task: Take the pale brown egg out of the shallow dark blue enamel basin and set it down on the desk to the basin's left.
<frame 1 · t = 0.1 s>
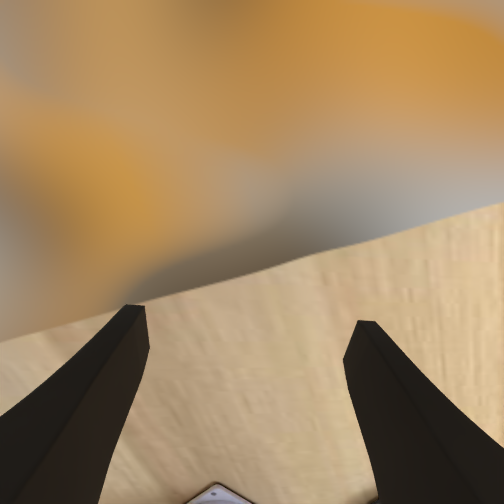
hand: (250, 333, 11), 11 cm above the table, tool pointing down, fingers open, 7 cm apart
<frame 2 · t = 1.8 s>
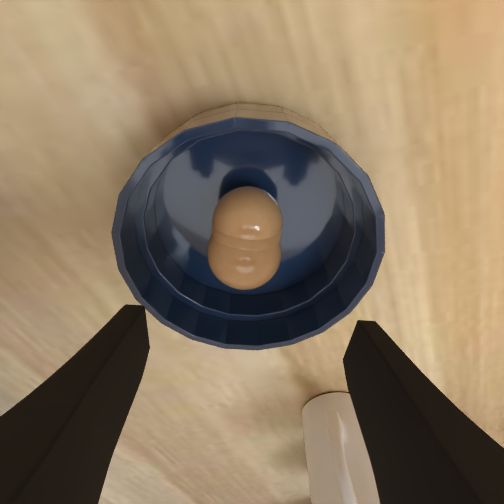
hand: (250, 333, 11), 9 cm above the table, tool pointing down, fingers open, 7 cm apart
egg: (249, 222, 18), point 1 cm above the table, tilted 6°, touching basin
mug: (330, 399, 29), on the table
basin: (249, 219, 19), on the table
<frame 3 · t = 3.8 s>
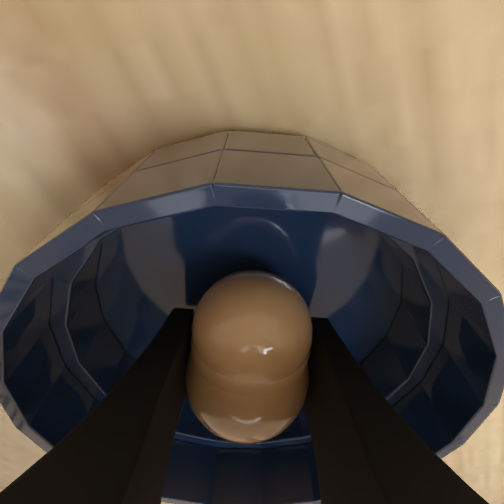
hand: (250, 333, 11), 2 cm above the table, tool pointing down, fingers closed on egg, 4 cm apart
egg: (248, 311, 12), point 1 cm above the table, touching basin, gripper
basin: (249, 302, 12), on the table
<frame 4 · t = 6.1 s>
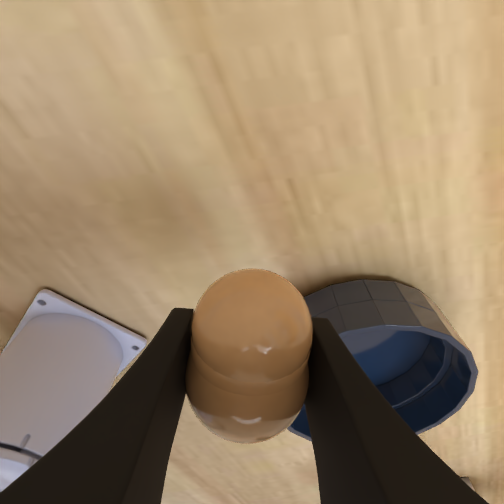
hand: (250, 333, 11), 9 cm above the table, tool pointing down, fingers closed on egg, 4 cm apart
egg: (248, 310, 12), point 8 cm above the table, touching gripper
basin: (351, 341, 24), on the table
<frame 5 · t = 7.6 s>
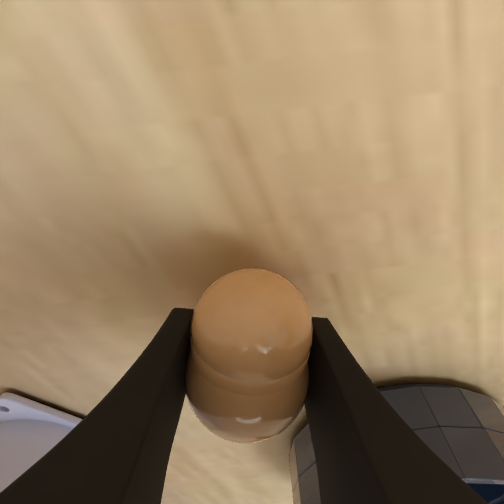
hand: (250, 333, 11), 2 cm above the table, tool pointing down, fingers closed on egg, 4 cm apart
egg: (248, 310, 12), point 1 cm above the table, touching gripper
basin: (393, 441, 19), on the table
when the fingers open (1 cm above the table, at t = 8.4 s): egg stays where it is, on the table.
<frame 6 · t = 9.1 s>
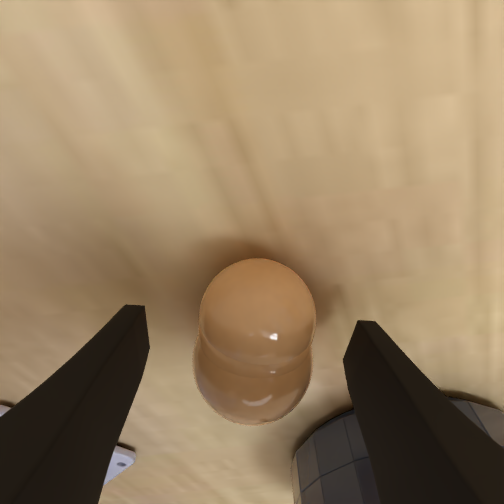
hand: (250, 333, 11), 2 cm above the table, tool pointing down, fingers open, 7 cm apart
egg: (249, 300, 12), on the table, tilted 6°
basin: (398, 453, 19), on the table
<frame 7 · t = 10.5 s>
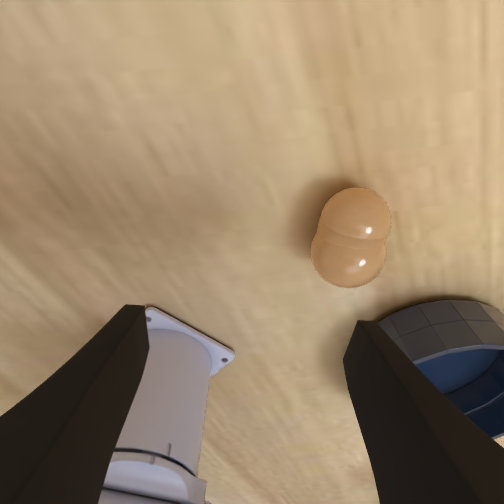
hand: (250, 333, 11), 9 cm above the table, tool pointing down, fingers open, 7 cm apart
egg: (338, 222, 19), on the table, tilted 7°
basin: (423, 354, 25), on the table
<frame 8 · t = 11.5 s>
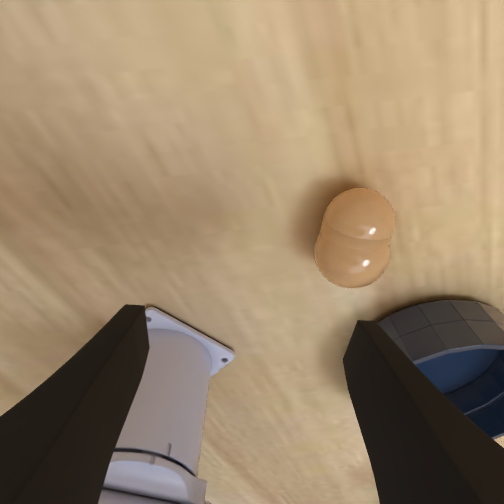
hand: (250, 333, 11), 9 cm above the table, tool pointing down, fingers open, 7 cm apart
egg: (338, 222, 19), on the table, tilted 13°
basin: (423, 354, 25), on the table
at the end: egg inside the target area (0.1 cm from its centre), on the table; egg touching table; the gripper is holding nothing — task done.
